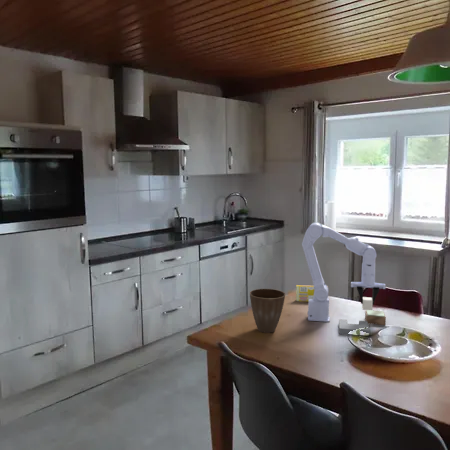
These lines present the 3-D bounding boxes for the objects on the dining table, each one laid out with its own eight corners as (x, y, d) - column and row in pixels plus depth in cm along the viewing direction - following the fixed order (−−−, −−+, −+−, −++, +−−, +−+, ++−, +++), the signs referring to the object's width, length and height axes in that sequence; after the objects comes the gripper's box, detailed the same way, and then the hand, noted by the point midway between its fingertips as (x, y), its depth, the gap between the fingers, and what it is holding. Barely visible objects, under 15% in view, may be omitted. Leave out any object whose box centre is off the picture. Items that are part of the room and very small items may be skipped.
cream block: (372, 310, 197) (372, 300, 196) (362, 309, 198) (363, 299, 197) (371, 307, 201) (371, 297, 201) (362, 306, 202) (362, 297, 202)
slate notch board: (369, 336, 184) (369, 330, 183) (339, 334, 186) (339, 328, 186) (367, 326, 195) (367, 321, 195) (338, 324, 198) (338, 319, 198)
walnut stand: (366, 323, 199) (366, 314, 199) (365, 318, 207) (365, 309, 207) (385, 325, 197) (385, 316, 197) (383, 319, 205) (383, 310, 205)
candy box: (327, 301, 234) (327, 285, 233) (327, 302, 232) (328, 286, 231) (295, 300, 236) (296, 284, 235) (296, 301, 234) (296, 285, 233)
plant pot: (286, 325, 196) (287, 290, 194) (281, 337, 182) (282, 299, 180) (253, 322, 200) (253, 287, 198) (245, 334, 186) (246, 296, 184)
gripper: (351, 274, 196) (350, 305, 198) (386, 276, 193) (385, 307, 194) (351, 271, 203) (350, 300, 204) (384, 272, 199) (383, 302, 201)
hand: (367, 303), depth 200 cm, fingers closed on cream block, 4 cm apart
